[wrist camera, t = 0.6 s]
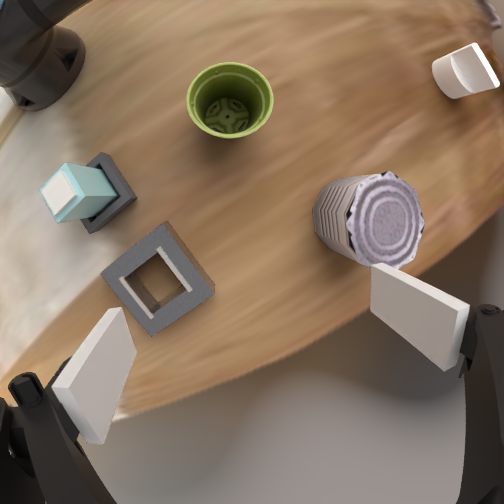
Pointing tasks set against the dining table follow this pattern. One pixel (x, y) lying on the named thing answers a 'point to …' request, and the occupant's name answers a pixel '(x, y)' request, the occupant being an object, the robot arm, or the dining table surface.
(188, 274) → the port block
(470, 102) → the dining table surface
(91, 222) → the holster
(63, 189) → the plug
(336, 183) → the can
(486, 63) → the cylinder with rectangular tab
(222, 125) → the plant pot
